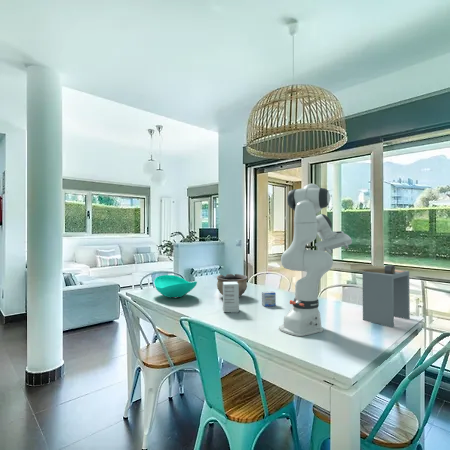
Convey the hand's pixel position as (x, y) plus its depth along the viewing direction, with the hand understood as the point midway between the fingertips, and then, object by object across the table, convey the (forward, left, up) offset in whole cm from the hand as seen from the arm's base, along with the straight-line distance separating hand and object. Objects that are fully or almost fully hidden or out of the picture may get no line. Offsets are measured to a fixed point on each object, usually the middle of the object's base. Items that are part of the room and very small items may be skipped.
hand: (339, 249), depth 175 cm
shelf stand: (+9, -22, -37) cm, 44 cm away
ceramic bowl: (-22, +71, -37) cm, 83 cm away
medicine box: (-19, +38, -37) cm, 57 cm away
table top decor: (-54, +97, -37) cm, 117 cm away
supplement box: (-45, +45, -37) cm, 74 cm away
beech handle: (+4, -17, -11) cm, 20 cm away
